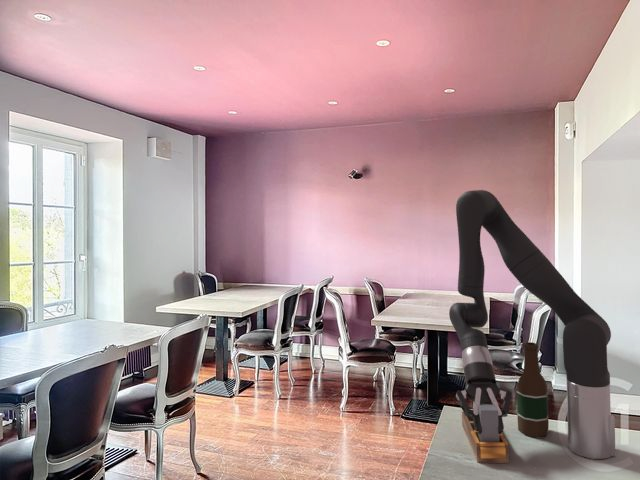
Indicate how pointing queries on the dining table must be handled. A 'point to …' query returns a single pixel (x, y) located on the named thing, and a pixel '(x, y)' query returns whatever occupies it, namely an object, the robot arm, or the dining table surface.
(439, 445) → the dining table surface
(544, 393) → the beer bottle
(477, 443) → the bay rack
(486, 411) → the block
